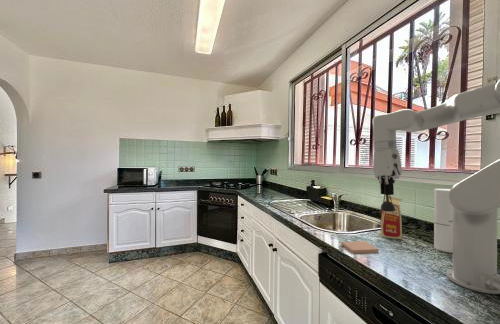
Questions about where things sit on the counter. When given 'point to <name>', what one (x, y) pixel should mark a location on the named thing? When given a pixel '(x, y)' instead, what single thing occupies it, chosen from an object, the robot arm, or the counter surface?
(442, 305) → the counter surface
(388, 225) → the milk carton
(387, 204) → the wooden tabletop sculpture
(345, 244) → the tile
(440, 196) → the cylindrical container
